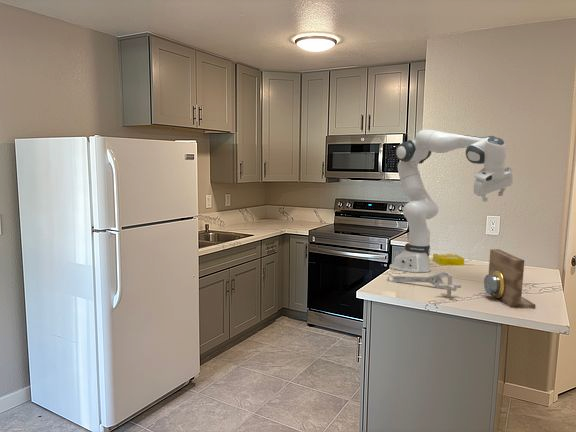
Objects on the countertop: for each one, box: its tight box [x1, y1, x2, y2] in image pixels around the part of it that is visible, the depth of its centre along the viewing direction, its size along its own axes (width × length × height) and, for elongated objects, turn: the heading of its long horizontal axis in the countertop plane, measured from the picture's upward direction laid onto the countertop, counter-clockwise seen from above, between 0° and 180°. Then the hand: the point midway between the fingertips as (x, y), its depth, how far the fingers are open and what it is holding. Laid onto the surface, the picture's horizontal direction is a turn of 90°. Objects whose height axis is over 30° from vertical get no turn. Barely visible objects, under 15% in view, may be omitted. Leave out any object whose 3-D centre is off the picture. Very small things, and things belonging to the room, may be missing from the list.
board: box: [487, 248, 536, 309], centre depth 193 cm, size 10×24×20 cm, turn 177°
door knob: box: [483, 271, 505, 299], centre depth 194 cm, size 5×12×12 cm, turn 177°
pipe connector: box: [437, 273, 462, 298], centre depth 194 cm, size 10×10×10 cm
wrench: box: [386, 271, 450, 289], centre depth 214 cm, size 8×2×30 cm
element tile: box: [432, 252, 465, 266], centre depth 268 cm, size 15×15×5 cm
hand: (492, 198), depth 213 cm, fingers open, 8 cm apart
